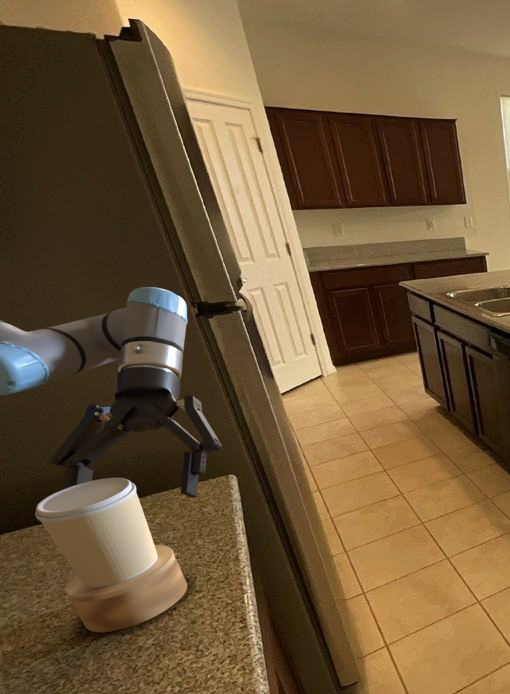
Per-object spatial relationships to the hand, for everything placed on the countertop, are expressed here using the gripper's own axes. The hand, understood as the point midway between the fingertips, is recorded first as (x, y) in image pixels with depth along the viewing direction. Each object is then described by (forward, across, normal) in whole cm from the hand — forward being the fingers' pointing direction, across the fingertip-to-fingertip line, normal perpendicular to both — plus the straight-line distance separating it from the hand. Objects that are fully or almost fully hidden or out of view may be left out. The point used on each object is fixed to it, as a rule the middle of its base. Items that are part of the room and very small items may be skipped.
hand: (134, 503), depth 77 cm
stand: (+14, 0, +3) cm, 14 cm away
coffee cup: (+10, 0, -1) cm, 10 cm away
